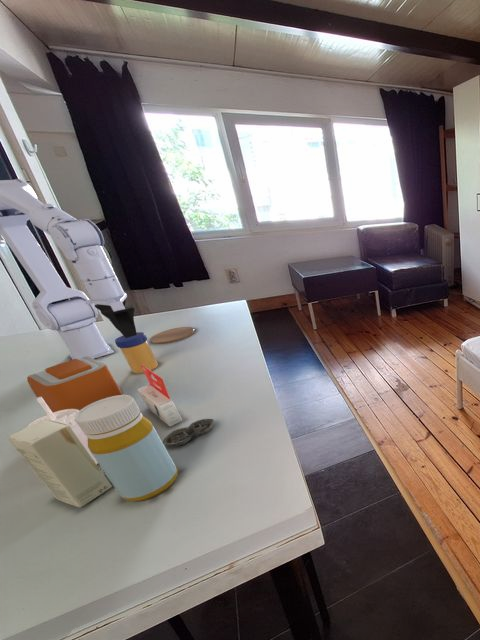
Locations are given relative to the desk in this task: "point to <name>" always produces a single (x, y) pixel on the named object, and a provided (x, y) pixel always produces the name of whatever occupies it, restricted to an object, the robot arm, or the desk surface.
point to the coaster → (172, 335)
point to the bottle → (127, 447)
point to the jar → (139, 357)
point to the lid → (131, 340)
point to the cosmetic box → (60, 462)
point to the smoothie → (66, 418)
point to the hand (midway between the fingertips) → (127, 332)
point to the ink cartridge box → (159, 399)
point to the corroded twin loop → (188, 432)
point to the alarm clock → (74, 384)
